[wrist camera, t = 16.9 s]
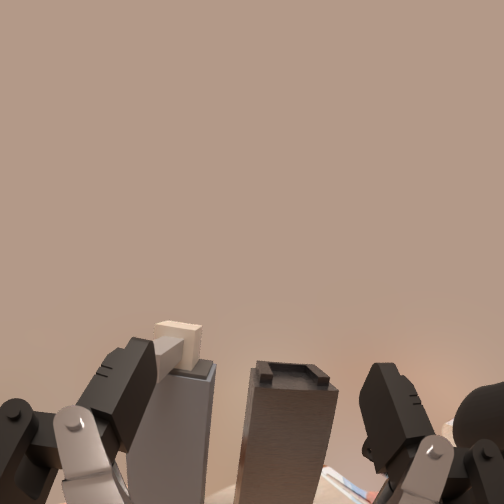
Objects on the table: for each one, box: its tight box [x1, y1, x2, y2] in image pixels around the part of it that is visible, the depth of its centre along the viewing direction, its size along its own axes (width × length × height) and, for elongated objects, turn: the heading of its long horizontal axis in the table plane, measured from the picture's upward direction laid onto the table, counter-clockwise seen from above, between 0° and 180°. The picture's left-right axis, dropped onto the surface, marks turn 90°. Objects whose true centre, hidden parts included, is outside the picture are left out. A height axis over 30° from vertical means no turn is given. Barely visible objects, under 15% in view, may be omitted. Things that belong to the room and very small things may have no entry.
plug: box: [153, 321, 202, 383], centre depth 31 cm, size 5×18×5 cm, turn 2°
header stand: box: [233, 361, 339, 504], centre depth 34 cm, size 10×10×33 cm
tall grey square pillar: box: [126, 359, 216, 504], centre depth 33 cm, size 10×10×32 cm
